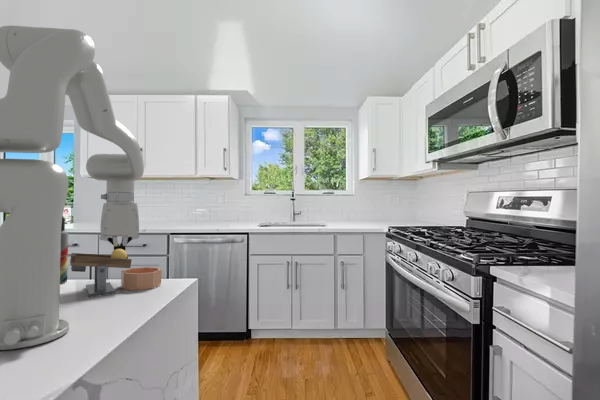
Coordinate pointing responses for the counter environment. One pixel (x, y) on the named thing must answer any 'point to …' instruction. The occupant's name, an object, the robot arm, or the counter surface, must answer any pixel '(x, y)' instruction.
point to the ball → (119, 254)
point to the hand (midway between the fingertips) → (119, 258)
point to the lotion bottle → (64, 253)
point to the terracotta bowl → (140, 278)
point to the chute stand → (100, 283)
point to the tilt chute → (96, 261)
